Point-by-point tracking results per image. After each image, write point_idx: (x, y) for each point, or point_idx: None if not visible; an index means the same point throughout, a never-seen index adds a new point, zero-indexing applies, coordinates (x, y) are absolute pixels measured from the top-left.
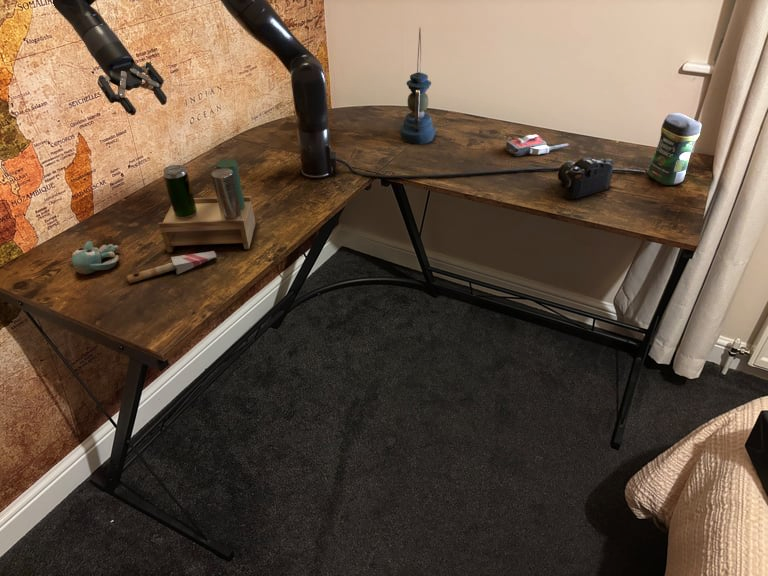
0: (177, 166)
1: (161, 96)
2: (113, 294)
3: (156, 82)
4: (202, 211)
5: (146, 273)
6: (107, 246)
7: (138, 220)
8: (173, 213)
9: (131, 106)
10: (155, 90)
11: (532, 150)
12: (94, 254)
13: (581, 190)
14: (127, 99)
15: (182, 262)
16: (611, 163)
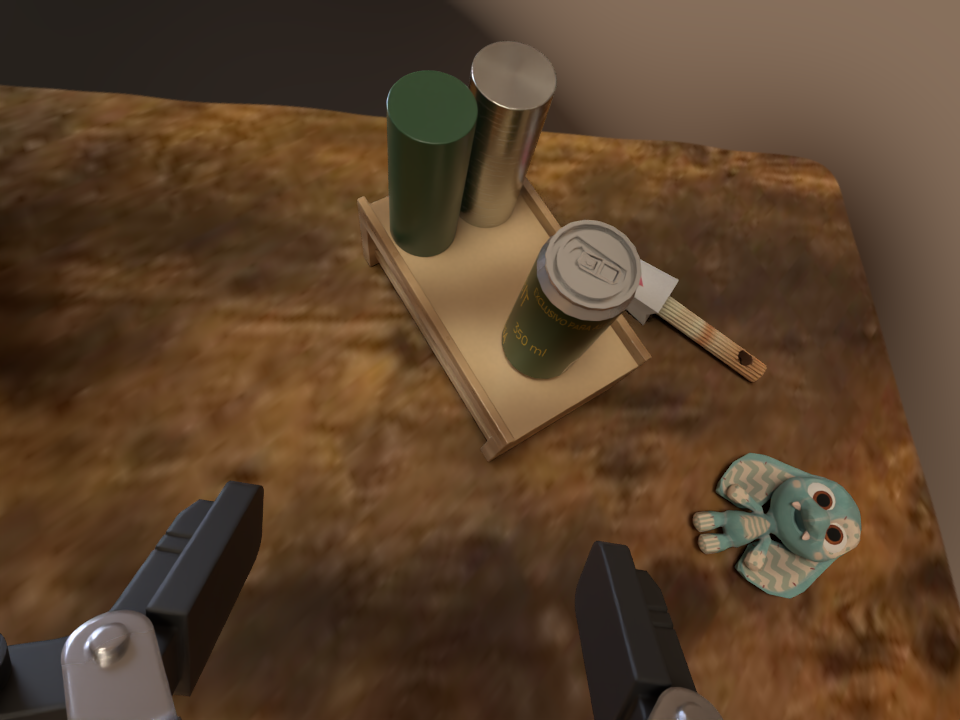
0: (564, 269)
1: (243, 516)
2: (801, 377)
3: (68, 670)
4: (497, 307)
5: (726, 337)
6: (737, 521)
7: (526, 637)
8: (556, 388)
9: (627, 578)
10: (194, 628)
11: None
12: (812, 480)
13: None
14: (640, 650)
15: (654, 272)
16: None
